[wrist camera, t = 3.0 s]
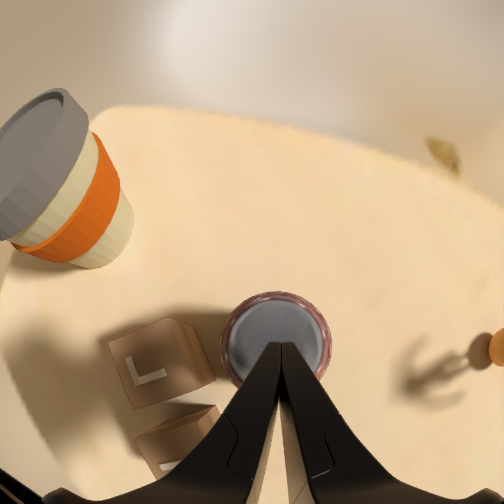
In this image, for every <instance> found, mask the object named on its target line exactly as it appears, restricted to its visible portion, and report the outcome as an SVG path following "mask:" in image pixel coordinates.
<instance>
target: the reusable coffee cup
mask: <svg viewBox="0 0 504 504" xmlns="http://www.w3.org/2000/svg"><path fill="white" fill-rule="evenodd" d="M88 125H89V121H88V116H87V114H86V113H85V111H84V110H83V109H82V108H81V107H80V105H79V104H78V103H77V102H76V101H75V100H74V99H73V97H72V96H71V95H70V94H69V93H68V92H67V90H65V89H63V88H54V89H51V90H49V91H46V92H44V93H42V94H40V95H38V96H37V97H35V98H33V99H32V100H30V101H29V102H28V103H26V104H25V105H24V106H23V107H21V108H20V109H19V110H18V111H17V112H16V113H15V114H14V115H13V116H12V117H11V118H10V119H9V120H8V121H7V122H6V123H5V124H4V125H3V126H2V127H1V129H0V241H4V240H7V241H10V242H11V244H12V245H13V246H14V247H15V248H16V249H17V250H19V251H22V252H24V253H27V254H30V255H33V256H36V257H39V258H42V259H45V260H48V261H51V262H55V263H64V262H69V263H72V264H75V265H78V266H81V267H84V268H88V269H96V268H100V267H103V266H105V265H107V264H109V263H110V262H112V261H113V260H114V259H115V258H116V257H117V256H118V255H119V254H120V253H121V252H122V250H123V249H124V248H125V246H126V244H127V243H128V241H129V238H130V236H131V233H132V229H133V224H134V215H133V210H132V207H131V205H130V203H129V201H128V200H127V198H126V196H125V194H124V193H123V191H122V189H121V187H120V179H119V177H118V174H117V171H116V169H115V168H114V166H113V164H112V162H111V160H110V158H109V156H108V154H107V152H106V150H105V148H104V146H103V144H102V142H101V140H100V139H99V137H98V136H97V135H96V134H94V133H93V132H91V131H90V129H89V127H88Z"/></svg>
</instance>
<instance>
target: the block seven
mask: <svg viewBox="0 0 504 504" xmlns="http://www.w3.org/2000/svg"><path fill="white" fill-rule="evenodd" d="M108 344H109V347H110V350H111V353H112V356H113V359H114V362H115V365H116V368H117V371H118V373H119V376H120V379H121V381H122V384H123V387H124V389H125V392H126V394H127V396H128V399H129V401H130V404H131V406H132V408H133V410H136V409H139V408H143V407H146V406H149V405H153V404H156V403H159V402H162V401H165V400H168V399H171V398H174V397H177V396H180V395H183V394H186V393H189V392H192V391H194V390H197V389H199V388H201V387H203V386H205V385H207V384H209V383H211V382H213V381H215V380H216V378H215V376H214V373H213V371H212V369H211V367H210V365H209V362H208V360H207V358H206V356H205V353H204V351H203V349H202V346H201V344H200V342H199V339H198V337H197V335H196V332H195V330H194V327H193V326H192V325H189V324H186V323H183V322H180V321H177V320H174V319H171V318H168V317H167V318H164V319H162V320H160V321H158V322H155V323H153V324H151V325H148V326H146V327H144V328H141V329H139V330H137V331H134V332H132V333H130V334H127V335H125V336H122V337H120V338H118V339H115V340H113V341H111V342H108Z"/></svg>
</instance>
